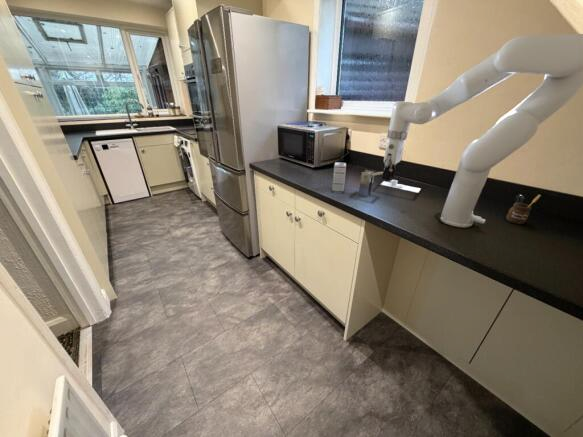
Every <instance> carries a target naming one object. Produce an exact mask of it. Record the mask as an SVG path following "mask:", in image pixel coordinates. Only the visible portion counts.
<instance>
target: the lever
mask: <svg viewBox="0 0 583 437" xmlns="http://www.w3.org/2000/svg"><path fill="white" fill-rule="evenodd" d="M391 172H393V169H392V168H391ZM369 173H371V172H369ZM381 175H383V171H379V172H378V171H377V172H375V173H373V174H372V175H371V177H372V176H374V177H375V176H381Z"/></svg>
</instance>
